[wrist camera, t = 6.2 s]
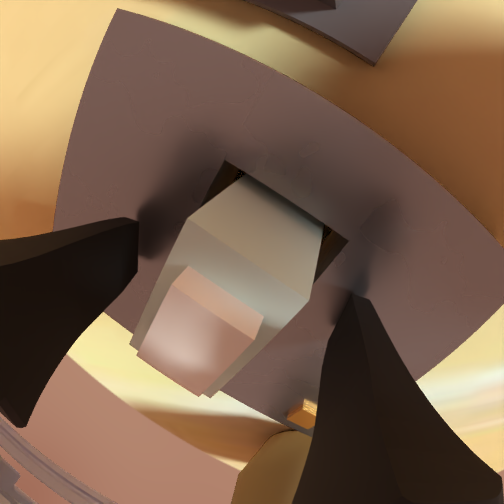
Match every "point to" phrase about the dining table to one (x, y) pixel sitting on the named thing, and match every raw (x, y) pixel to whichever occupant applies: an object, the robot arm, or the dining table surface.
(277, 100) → the port block
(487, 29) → the dining table surface
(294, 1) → the dark grey holder base
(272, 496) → the squeeze bottle
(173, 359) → the plug
